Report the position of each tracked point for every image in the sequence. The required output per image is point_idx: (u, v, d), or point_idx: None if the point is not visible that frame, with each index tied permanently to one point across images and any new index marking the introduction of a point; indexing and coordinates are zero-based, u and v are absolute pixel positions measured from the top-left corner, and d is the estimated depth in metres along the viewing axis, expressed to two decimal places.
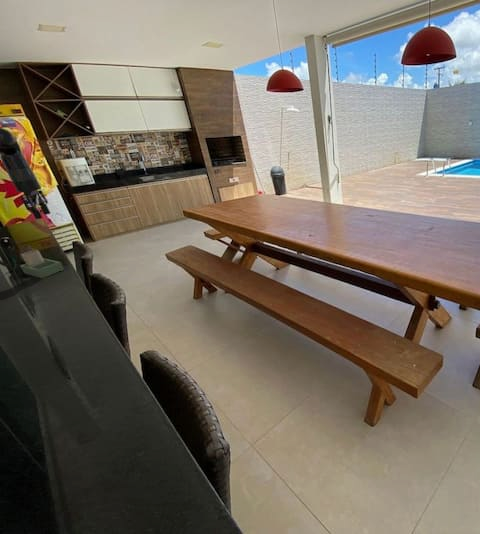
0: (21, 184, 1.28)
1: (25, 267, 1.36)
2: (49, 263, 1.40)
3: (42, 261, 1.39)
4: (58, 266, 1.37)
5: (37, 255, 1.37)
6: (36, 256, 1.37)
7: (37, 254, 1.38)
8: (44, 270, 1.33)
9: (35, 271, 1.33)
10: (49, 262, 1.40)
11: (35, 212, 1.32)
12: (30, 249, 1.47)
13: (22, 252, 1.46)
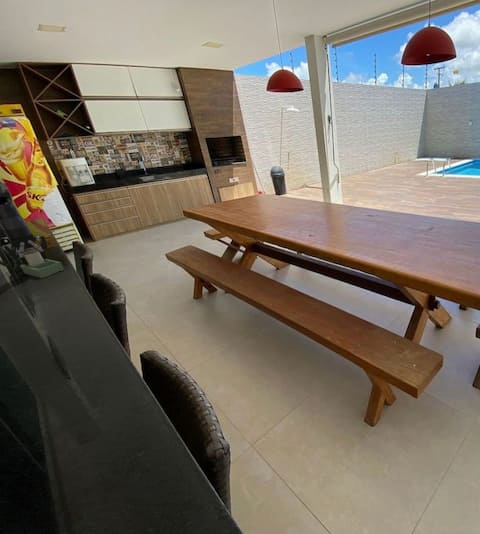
0: (5, 233, 1.30)
1: (25, 267, 1.36)
2: (49, 263, 1.40)
3: (42, 261, 1.39)
4: (58, 266, 1.37)
5: (37, 255, 1.37)
6: (36, 256, 1.37)
7: (37, 254, 1.38)
8: (44, 270, 1.33)
9: (35, 271, 1.33)
10: (49, 262, 1.40)
11: (20, 259, 1.34)
12: (30, 249, 1.47)
13: None
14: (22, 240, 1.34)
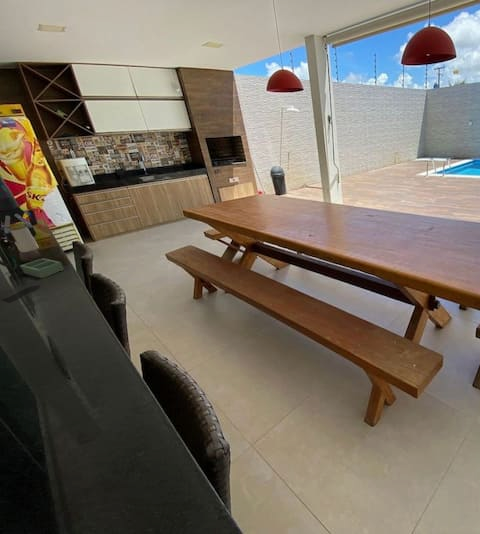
0: None
1: (25, 267, 1.36)
2: (49, 263, 1.40)
3: (31, 238, 1.23)
4: (58, 266, 1.37)
5: (25, 231, 1.21)
6: (24, 232, 1.21)
7: (26, 230, 1.21)
8: (44, 270, 1.33)
9: (35, 271, 1.33)
10: (49, 262, 1.40)
11: (6, 236, 1.18)
12: None
13: (22, 252, 1.46)
14: (8, 213, 1.17)
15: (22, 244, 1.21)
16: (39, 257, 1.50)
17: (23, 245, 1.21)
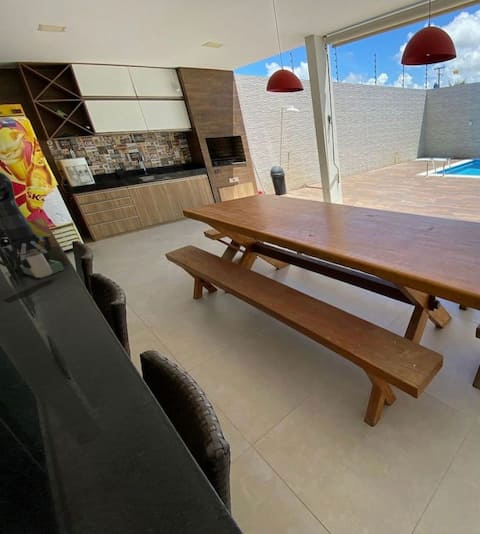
0: None
1: None
2: (49, 263, 1.40)
3: (46, 264, 1.27)
4: (58, 266, 1.37)
5: (40, 257, 1.25)
6: (39, 258, 1.24)
7: (41, 256, 1.25)
8: None
9: None
10: (49, 262, 1.40)
11: (21, 262, 1.22)
12: None
13: None
14: (24, 241, 1.21)
15: (37, 270, 1.25)
16: None
17: (38, 271, 1.25)
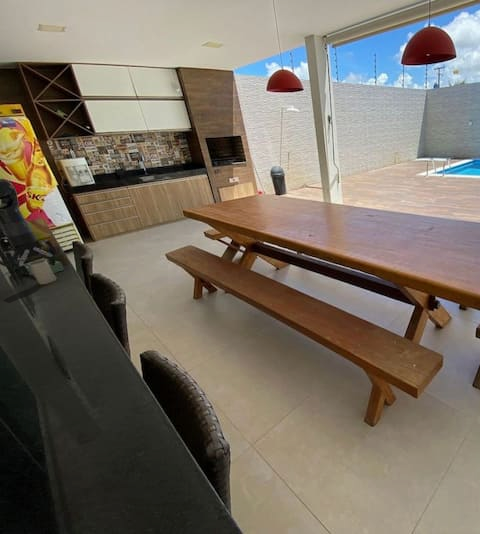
0: (8, 239, 1.18)
1: None
2: (49, 263, 1.40)
3: (50, 271, 1.28)
4: (58, 266, 1.37)
5: (44, 265, 1.26)
6: (43, 265, 1.26)
7: (45, 263, 1.26)
8: None
9: None
10: None
11: (20, 268, 1.21)
12: None
13: None
14: (27, 247, 1.22)
15: (41, 277, 1.26)
16: (39, 257, 1.50)
17: (42, 278, 1.26)
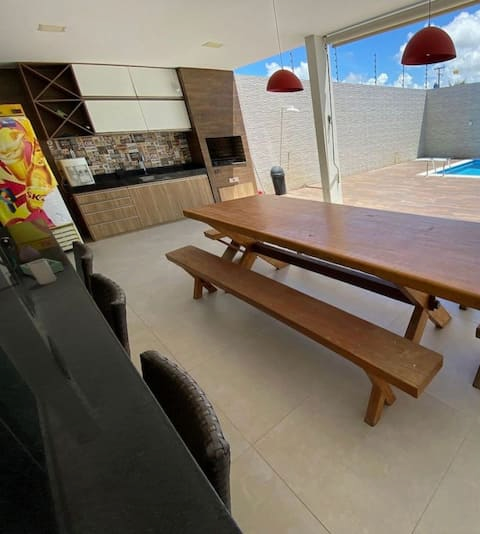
0: None
1: (25, 267, 1.36)
2: (49, 263, 1.40)
3: (50, 271, 1.28)
4: (58, 266, 1.37)
5: (44, 265, 1.26)
6: (43, 265, 1.26)
7: (45, 263, 1.26)
8: None
9: None
10: (49, 262, 1.40)
11: None
12: (30, 249, 1.47)
13: (22, 252, 1.46)
14: None
15: (41, 277, 1.26)
16: (39, 257, 1.50)
17: (42, 278, 1.26)
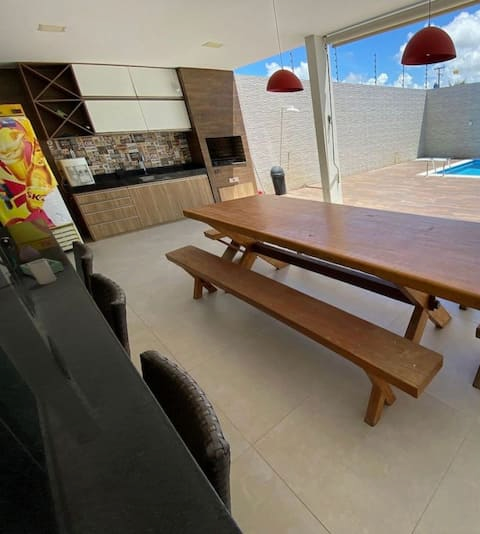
0: None
1: (25, 267, 1.36)
2: (49, 263, 1.40)
3: (50, 271, 1.28)
4: (58, 266, 1.37)
5: (44, 265, 1.26)
6: (43, 265, 1.26)
7: (45, 263, 1.26)
8: None
9: None
10: (49, 262, 1.40)
11: None
12: (30, 249, 1.47)
13: (22, 252, 1.46)
14: None
15: (41, 277, 1.26)
16: (39, 257, 1.50)
17: (42, 278, 1.26)
